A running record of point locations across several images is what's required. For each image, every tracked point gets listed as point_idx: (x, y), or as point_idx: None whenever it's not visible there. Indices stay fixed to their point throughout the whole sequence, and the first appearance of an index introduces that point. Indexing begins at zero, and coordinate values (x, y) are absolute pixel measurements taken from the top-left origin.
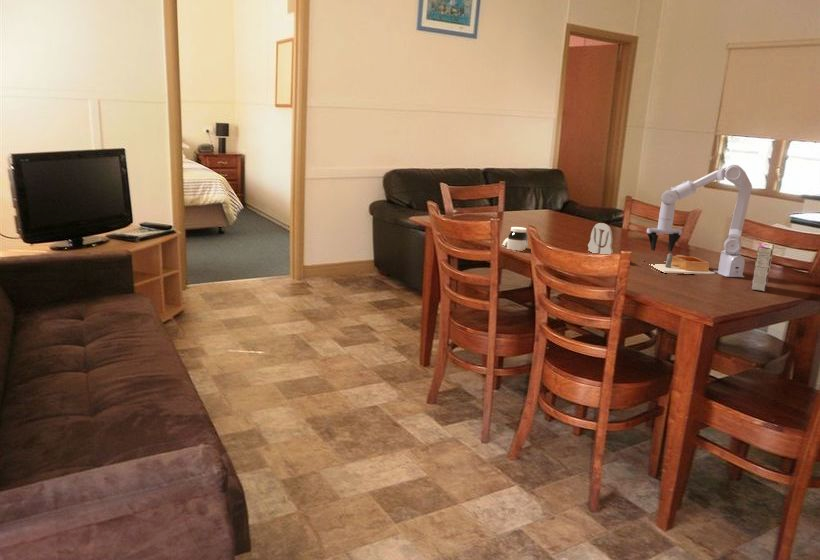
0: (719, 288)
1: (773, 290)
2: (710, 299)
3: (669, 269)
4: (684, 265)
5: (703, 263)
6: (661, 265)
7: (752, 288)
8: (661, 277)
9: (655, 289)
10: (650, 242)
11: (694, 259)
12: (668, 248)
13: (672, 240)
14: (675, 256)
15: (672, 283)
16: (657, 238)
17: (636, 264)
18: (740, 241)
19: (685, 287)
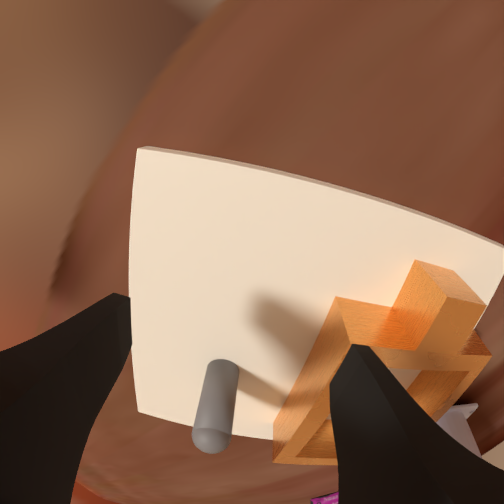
0: (226, 493)
1: None
2: (143, 496)
3: (190, 402)
4: (277, 436)
5: None
6: (210, 328)
7: (311, 501)
8: (109, 420)
9: None
10: (43, 341)
11: (451, 382)
12: (354, 365)
13: (349, 502)
14: None
15: (116, 453)
16: (73, 486)
17: (94, 182)
18: None
19: (134, 471)
